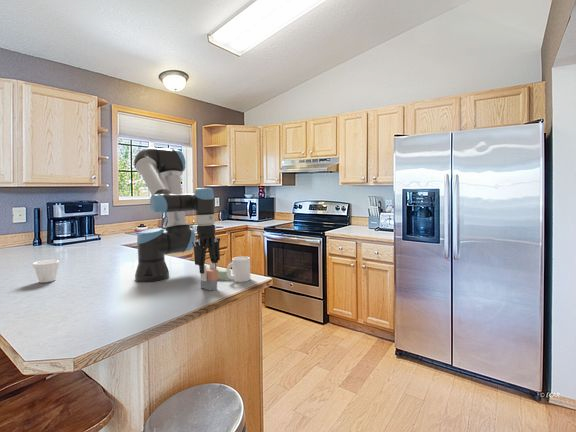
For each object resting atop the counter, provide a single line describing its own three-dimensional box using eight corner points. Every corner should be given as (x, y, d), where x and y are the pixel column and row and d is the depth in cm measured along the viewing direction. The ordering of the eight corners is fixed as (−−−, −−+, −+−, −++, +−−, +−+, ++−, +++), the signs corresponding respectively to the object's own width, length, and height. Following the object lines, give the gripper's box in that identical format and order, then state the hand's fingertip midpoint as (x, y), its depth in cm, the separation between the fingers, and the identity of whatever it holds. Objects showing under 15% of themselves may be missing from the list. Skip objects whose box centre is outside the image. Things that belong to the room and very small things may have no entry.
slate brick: (200, 287, 137) (200, 278, 137) (207, 286, 140) (207, 277, 140) (209, 290, 133) (210, 280, 133) (216, 289, 135) (217, 279, 135)
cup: (65, 279, 152) (63, 260, 151) (41, 285, 143) (40, 265, 142) (52, 277, 156) (51, 258, 155) (29, 283, 147) (27, 263, 146)
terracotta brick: (200, 278, 136) (200, 269, 136) (207, 276, 139) (206, 267, 139) (212, 281, 132) (211, 271, 132) (218, 279, 135) (218, 269, 135)
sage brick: (214, 279, 151) (213, 271, 150) (217, 277, 154) (217, 269, 154) (227, 280, 149) (227, 271, 149) (230, 278, 152) (230, 269, 152)
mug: (231, 285, 140) (230, 262, 139) (222, 281, 147) (221, 259, 146) (253, 280, 148) (253, 258, 147) (244, 276, 154) (243, 255, 153)
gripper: (195, 226, 125) (198, 285, 126) (227, 223, 139) (229, 275, 141) (183, 226, 129) (186, 283, 130) (215, 222, 144) (217, 273, 145)
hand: (208, 279), depth 136 cm, fingers open, 4 cm apart
